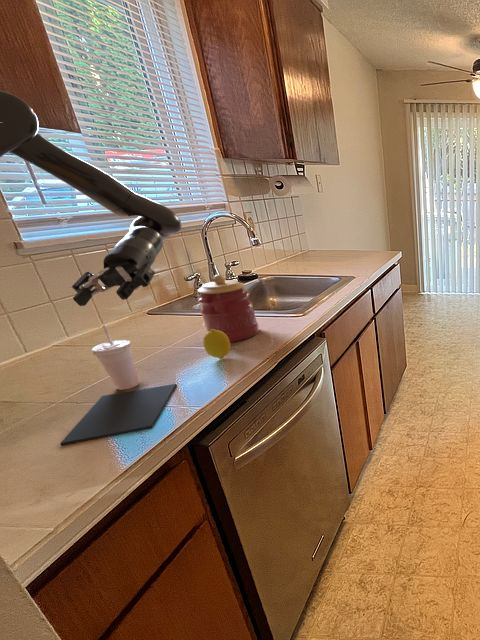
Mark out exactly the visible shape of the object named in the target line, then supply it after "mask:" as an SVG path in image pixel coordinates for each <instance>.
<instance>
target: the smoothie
mask: <svg viewBox="0 0 480 640" xmlns="http://www.w3.org/2000/svg"><path fill="white" fill-rule="evenodd" d="M102 329H103V331H104V333H105V335H106V338H107V340H108V341H107V342H103V343H100V344H97V345H95V346H94V347H92V348H91V352H92V355H93V356H96V358H97V359H98V361H99V362H100V364H101V365H102V367H103V368H104V370H105V371H106V373H107V374H108V376H109V378H110V379H111V380H112V382H113V384H114V385H115V387H116V388H117V390H119V391H120V390H121V391H122V390H123V391H124V390H129V389H132V388H135V387H137V386H139V385H140V381H139V377H138V373H137V369H136V365H135V360H134V356H133V352H132V347H133V346H132V343H131V341H130V340H127V339H119V340H118V339H117V340H113V339H112V336H111V334H110V332H109V330H108V327H107V325H106V324H102Z"/></svg>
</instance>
